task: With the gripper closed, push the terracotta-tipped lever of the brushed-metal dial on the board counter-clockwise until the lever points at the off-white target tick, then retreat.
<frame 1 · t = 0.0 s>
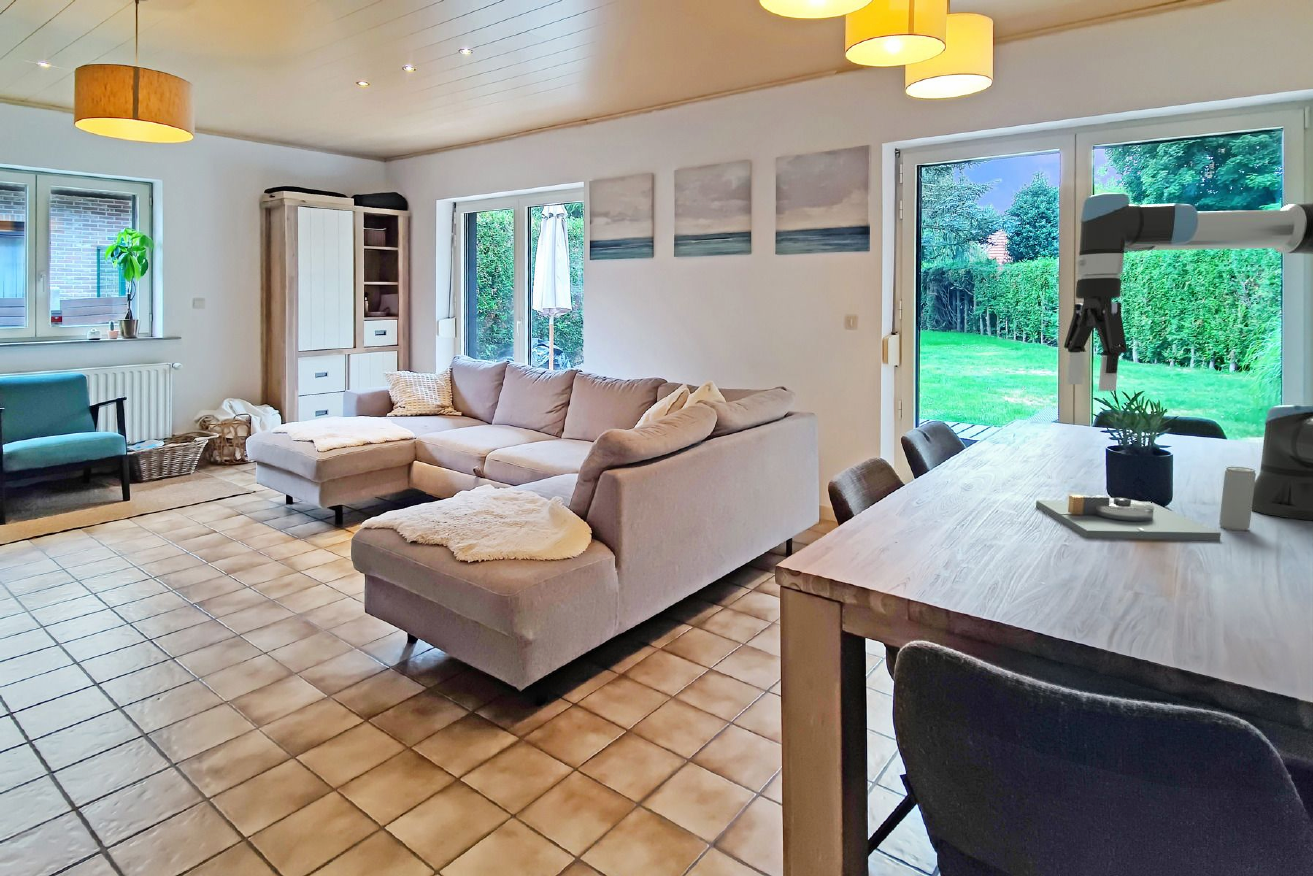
hand: (1090, 387, 149), 28 cm above the table, fingers open, 13 cm apart
beverage can: (1233, 529, 150), on the table
dial: (1110, 505, 154), point 4 cm above the table, hinge at 0.0°
dial board: (1120, 522, 155), on the table
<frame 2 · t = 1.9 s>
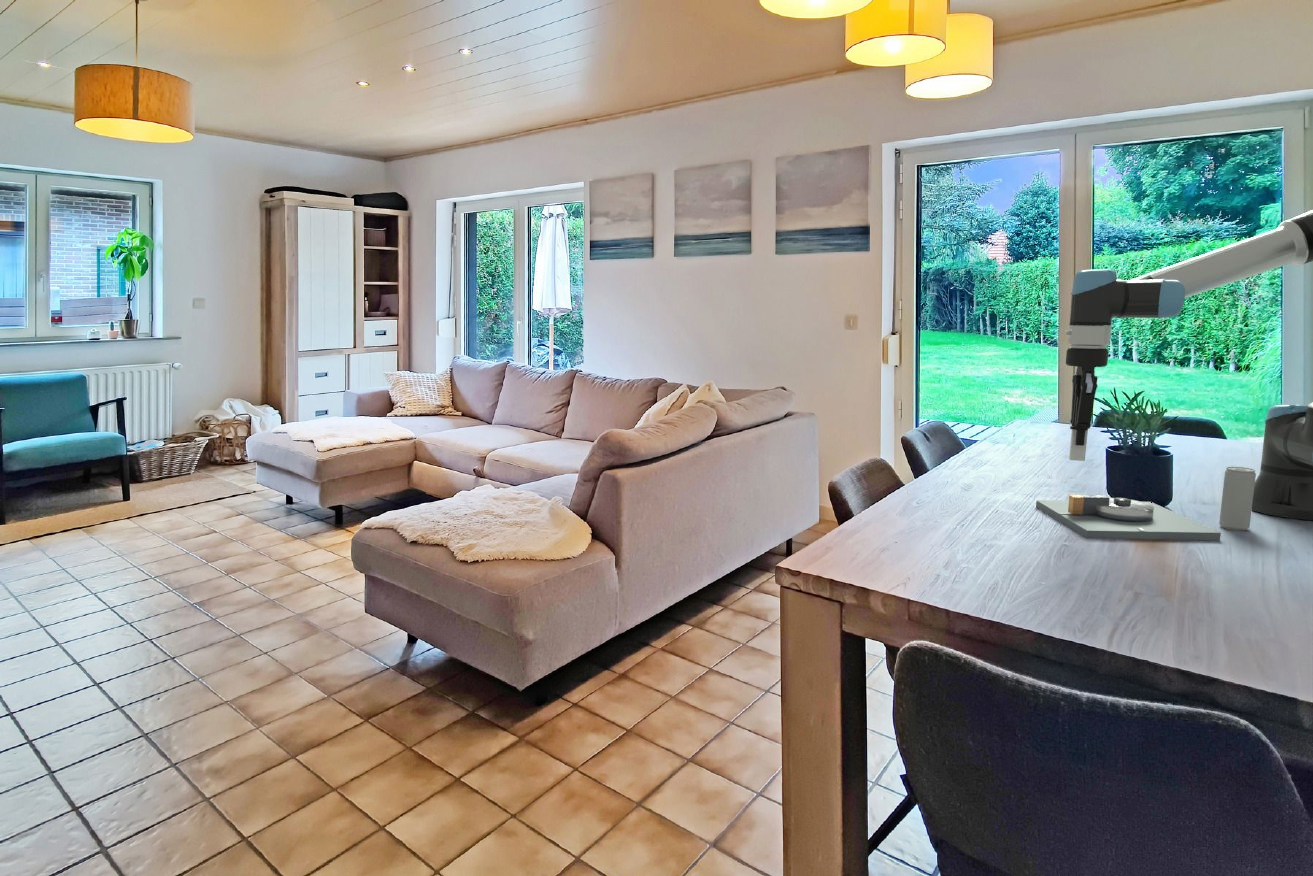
hand: (1076, 459, 158), 12 cm above the table, fingers closed
nothing on the table moved.
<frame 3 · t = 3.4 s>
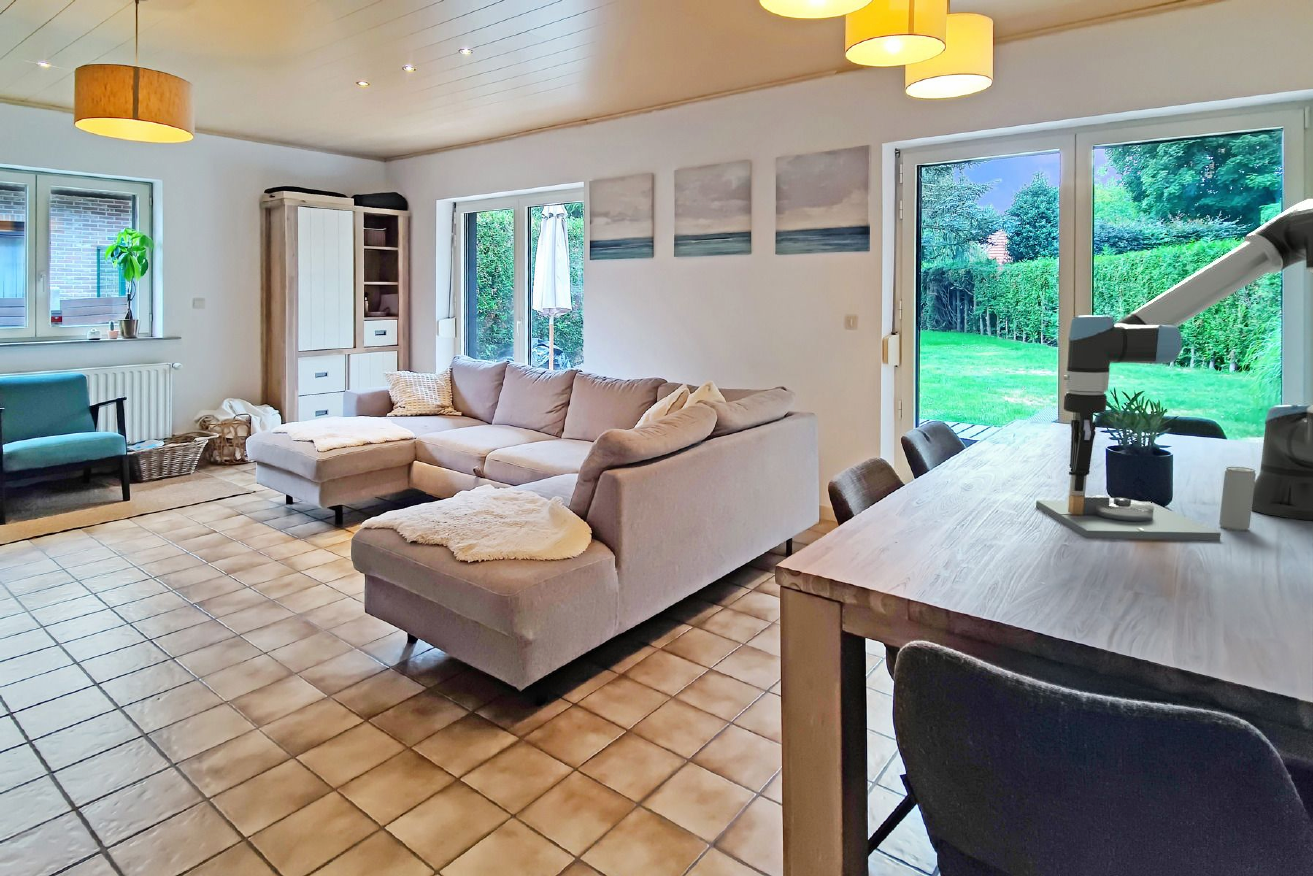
hand: (1076, 505, 157), 3 cm above the table, fingers closed
dial: (1110, 505, 154), point 4 cm above the table, hinge at 0.1°, touching gripper
everything else where it was.
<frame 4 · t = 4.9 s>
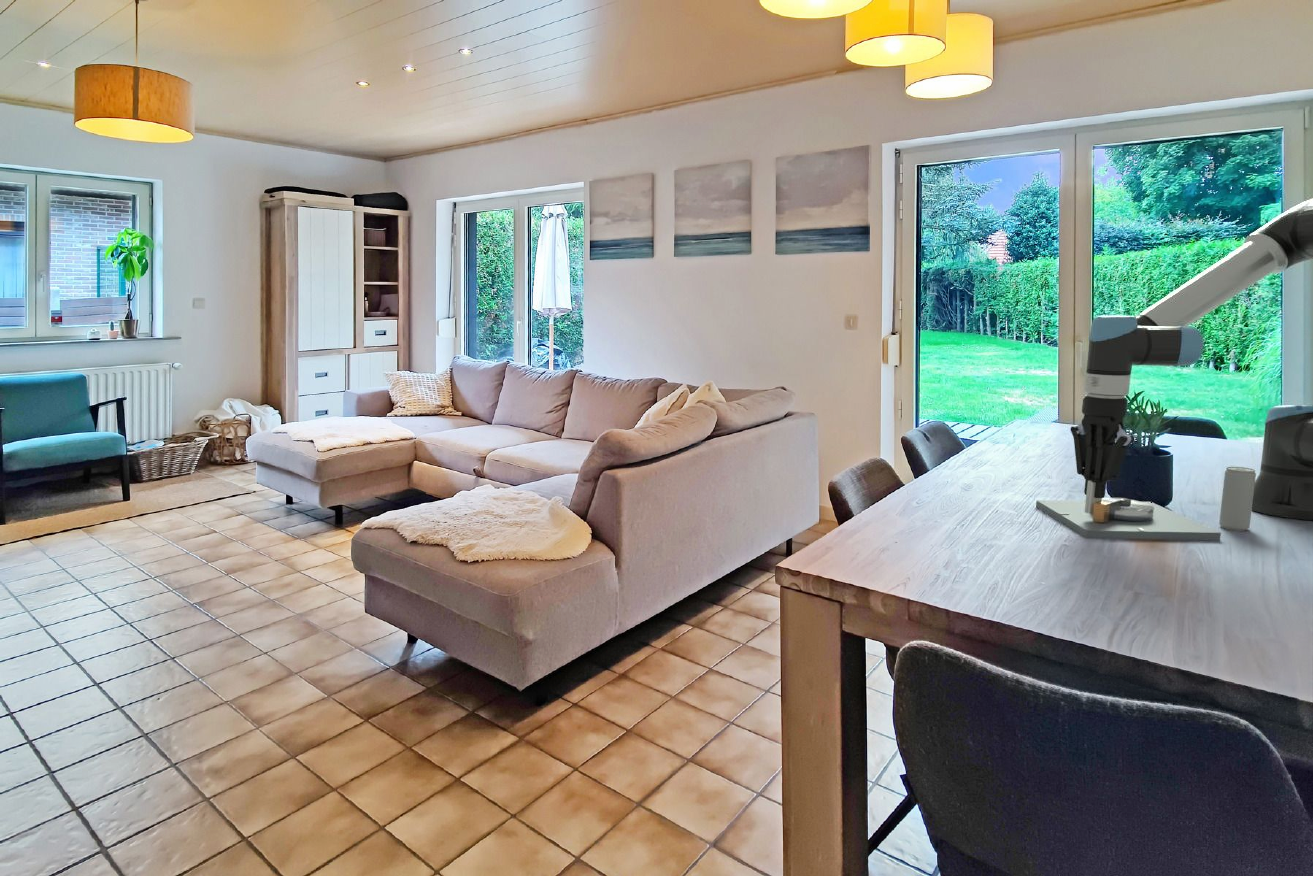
hand: (1092, 512, 151), 3 cm above the table, fingers closed
dial: (1116, 506, 153), point 4 cm above the table, hinge at 41.1°, touching gripper
everything else where it was.
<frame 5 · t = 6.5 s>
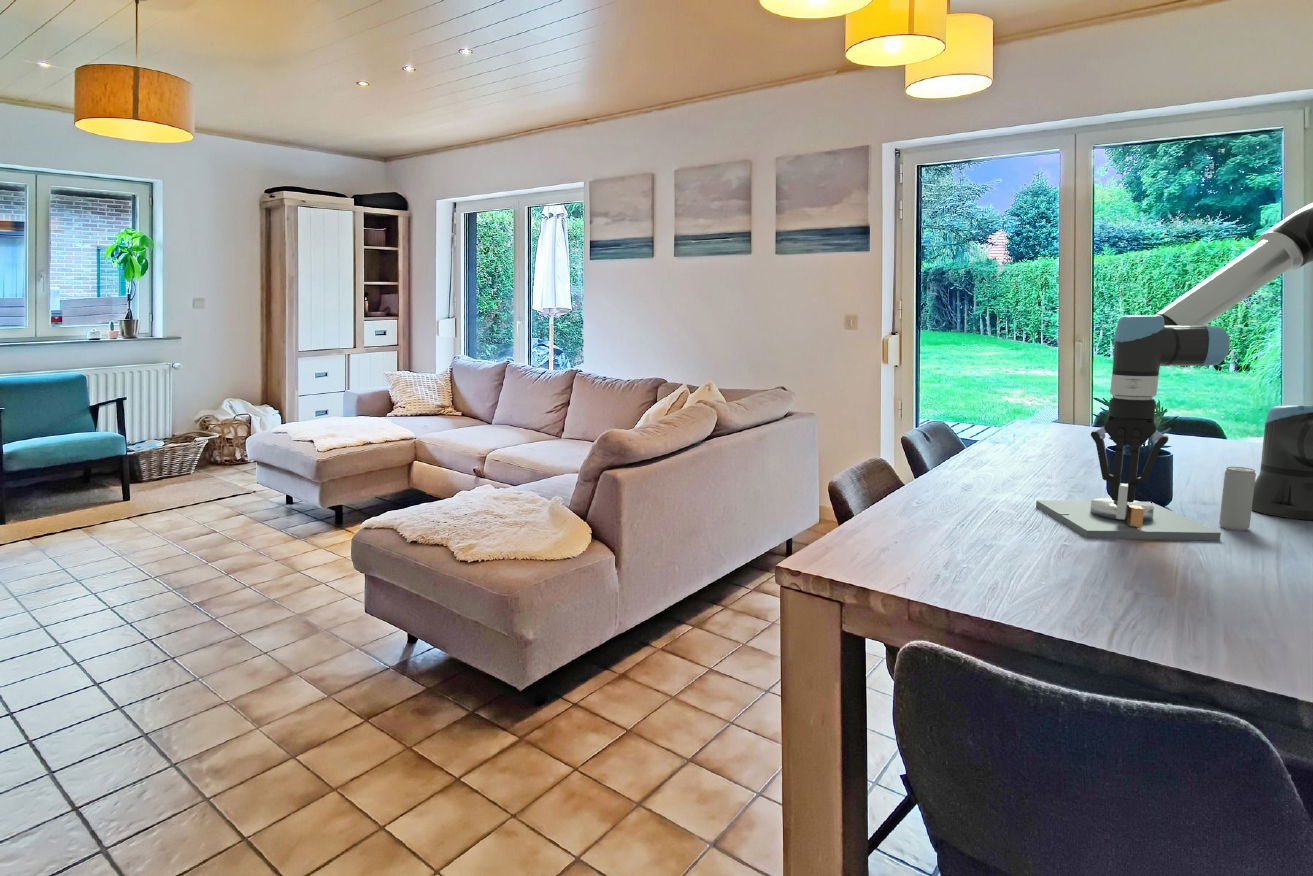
hand: (1120, 517, 147), 3 cm above the table, fingers closed
dial: (1125, 507, 152), point 4 cm above the table, hinge at 78.3°
everything else where it was.
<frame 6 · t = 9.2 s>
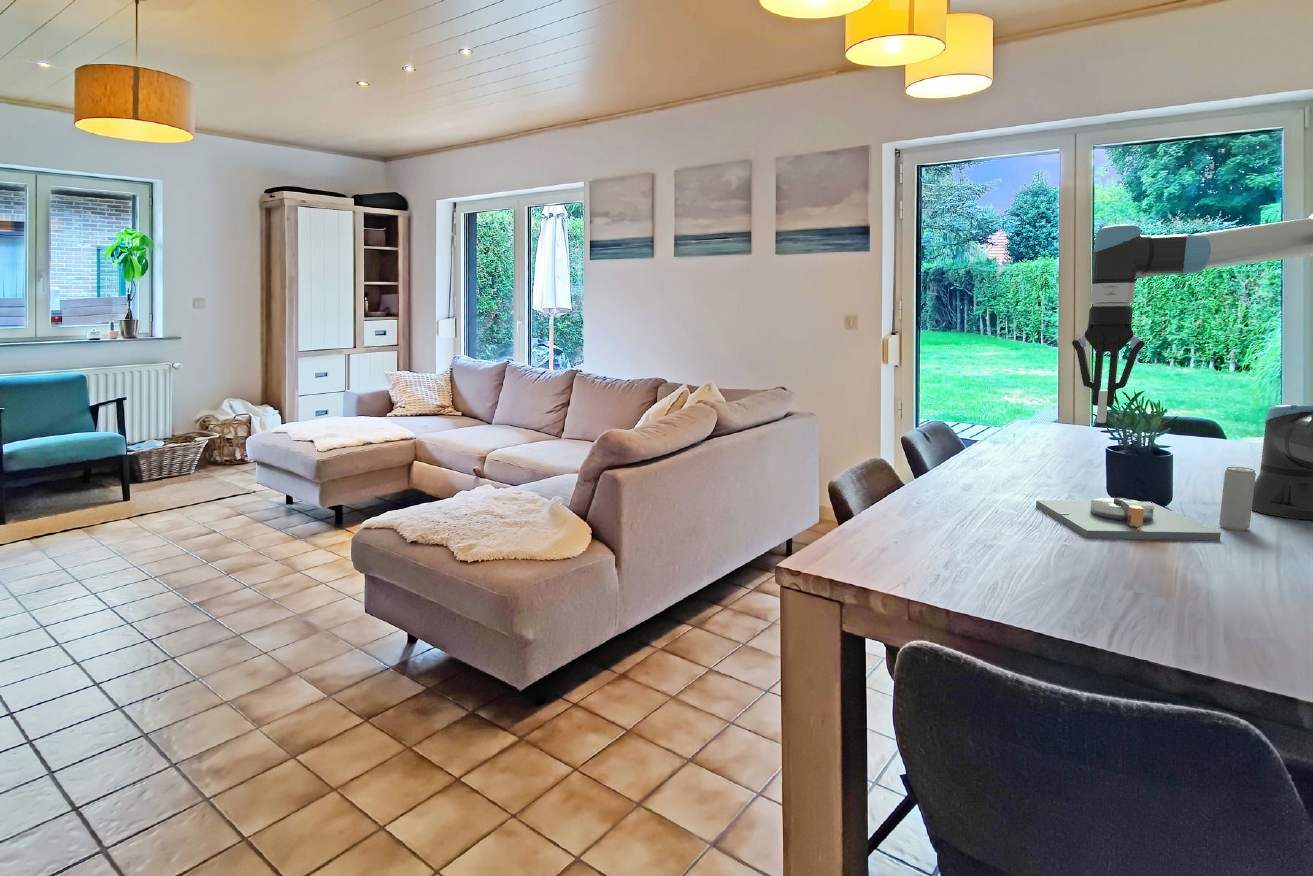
hand: (1101, 421, 155), 20 cm above the table, fingers closed
nothing on the table moved.
at the end: dial at +78° (first picture: +0°); beverage can moved 0.2 cm from its start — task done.
